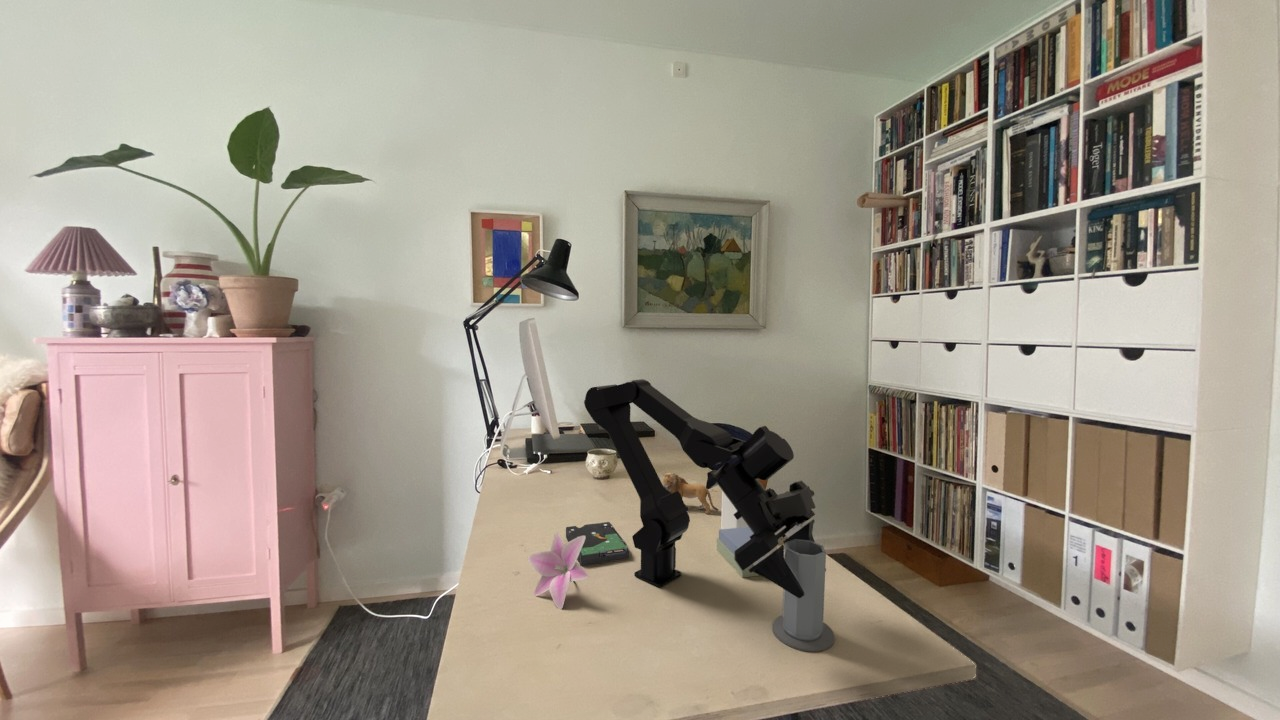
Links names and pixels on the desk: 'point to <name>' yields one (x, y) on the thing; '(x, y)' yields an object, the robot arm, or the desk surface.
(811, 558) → the pen cup
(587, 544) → the disk drive
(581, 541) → the lily
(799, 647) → the coaster
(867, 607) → the desk surface
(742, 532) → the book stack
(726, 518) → the jar
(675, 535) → the robot arm
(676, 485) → the lion figurine
